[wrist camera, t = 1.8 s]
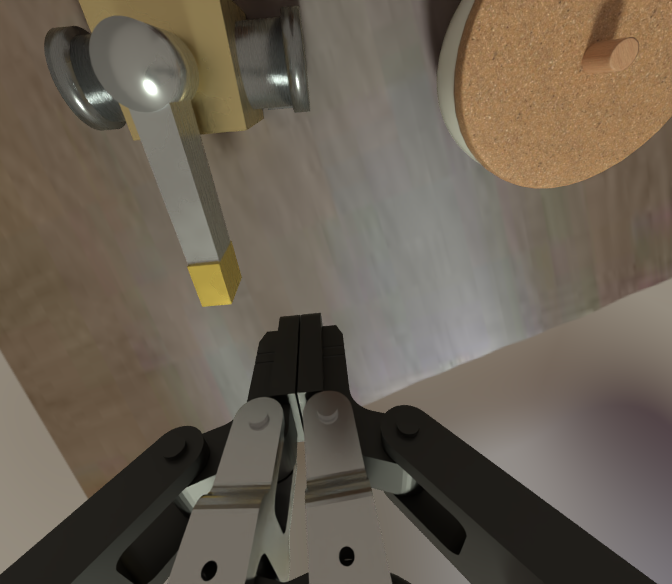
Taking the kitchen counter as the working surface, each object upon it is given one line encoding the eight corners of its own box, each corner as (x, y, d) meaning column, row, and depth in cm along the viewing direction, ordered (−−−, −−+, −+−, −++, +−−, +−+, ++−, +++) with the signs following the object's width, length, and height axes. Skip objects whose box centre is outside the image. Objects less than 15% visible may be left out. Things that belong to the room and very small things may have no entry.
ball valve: (300, 8, 21) (293, -24, 14) (311, 114, 24) (309, 124, 18) (91, 27, 21) (-7, 3, 14) (131, 130, 24) (66, 147, 18)
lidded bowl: (556, -125, 18) (807, -343, 9) (613, 77, 24) (802, 74, 14) (379, 54, 22) (424, 32, 13) (463, 190, 28) (537, 243, 19)
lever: (118, 31, 15) (72, 19, 12) (186, 25, 15) (157, 11, 12) (206, 280, 22) (191, 307, 19) (251, 275, 22) (242, 302, 19)
